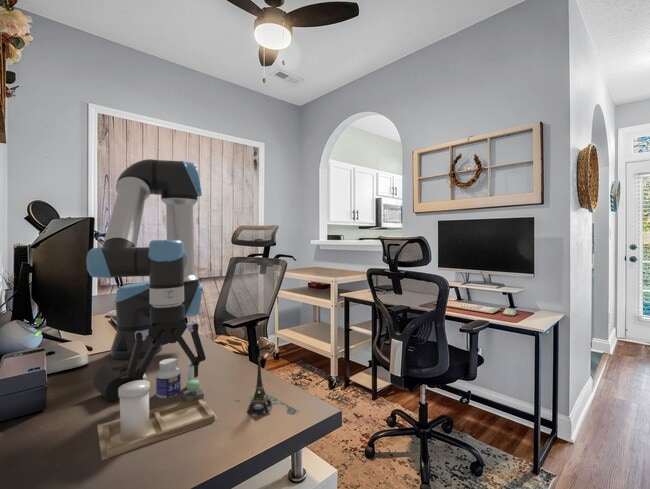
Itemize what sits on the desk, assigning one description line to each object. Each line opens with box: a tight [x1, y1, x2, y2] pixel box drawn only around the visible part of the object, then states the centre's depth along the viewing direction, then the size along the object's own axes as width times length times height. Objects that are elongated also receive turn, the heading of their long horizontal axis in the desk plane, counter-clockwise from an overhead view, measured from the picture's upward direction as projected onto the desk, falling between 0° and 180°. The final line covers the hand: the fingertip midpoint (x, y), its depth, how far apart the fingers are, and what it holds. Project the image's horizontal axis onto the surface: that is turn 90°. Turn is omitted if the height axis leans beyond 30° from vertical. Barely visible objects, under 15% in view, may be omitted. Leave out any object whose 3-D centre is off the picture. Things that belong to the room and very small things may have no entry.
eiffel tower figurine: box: [234, 355, 300, 416], centre depth 75 cm, size 15×10×13 cm
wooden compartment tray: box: [96, 387, 220, 461], centre depth 67 cm, size 13×20×3 cm, turn 127°
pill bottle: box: [155, 358, 182, 399], centre depth 80 cm, size 5×5×9 cm
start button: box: [186, 379, 200, 394], centre depth 76 cm, size 3×3×4 cm
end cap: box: [92, 364, 136, 404], centre depth 80 cm, size 10×7×7 cm
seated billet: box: [118, 379, 151, 442], centre depth 63 cm, size 5×5×9 cm
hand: (168, 396), depth 80 cm, fingers open, 10 cm apart
